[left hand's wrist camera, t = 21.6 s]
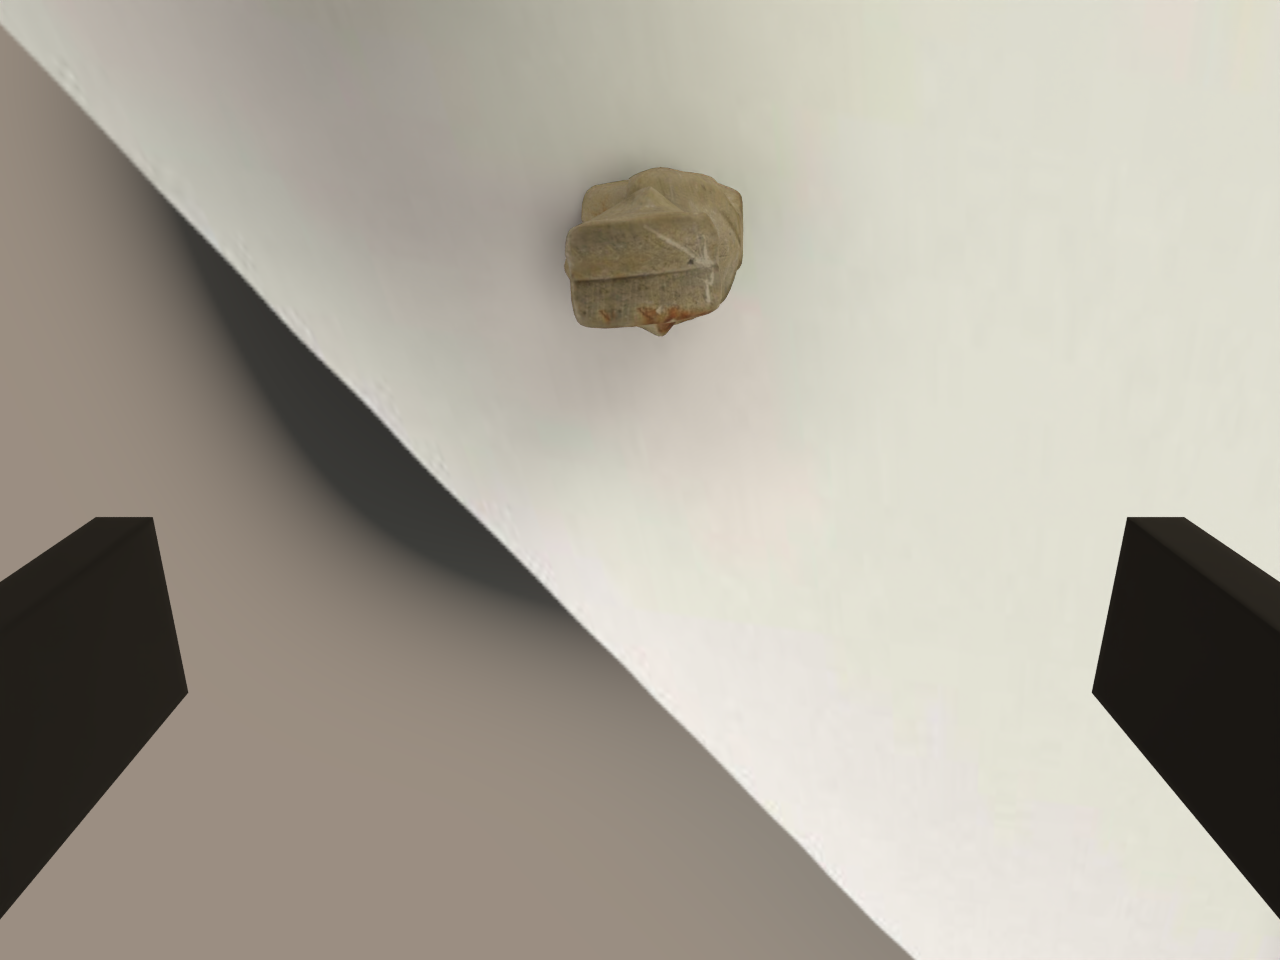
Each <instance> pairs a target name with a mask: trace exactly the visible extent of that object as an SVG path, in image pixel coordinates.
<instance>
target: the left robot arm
mask: <svg viewBox="0 0 1280 960" xmlns="http://www.w3.org/2000/svg"><path fill="white" fill-rule="evenodd" d="M187 693H188V689H187V684H186V680H185V674H184V669H183V664H182V660H181V655H180V650H179V645H178V640H177V635H176V630H175V625H174V620H173V615H172V610H171V605H170V600H169V595H168V591H167V585H166V580H165V575H164V570H163V566H162V561H161V556H160V551H159V546H158V541H157V536H156V531H155V526H154V521H153V517H95V518H94V519H93V520H91V521H90V522H88V523H87V524H85V525H84V526H82V527H81V528H79V529H78V530H76V531H75V532H73V533H72V534H70V535H69V536H67V537H66V538H64V539H63V540H62V541H60V542H59V543H57V544H56V545H54V546H53V547H51V548H50V549H48V550H47V551H45V552H44V553H42V554H41V555H39V556H38V557H37V558H35V559H34V560H32V561H31V562H29V563H28V564H26V565H25V566H23V567H22V568H20V569H19V570H17V571H16V572H14V573H13V574H11V575H10V576H9V577H7V578H6V579H4V580H3V581H1V582H0V919H1V918H2V916H3V915H4V914H5V913H6V912H7V910H8V909H9V908H10V907H11V906H12V904H13V903H14V902H15V901H16V899H17V898H18V897H19V896H20V895H21V893H22V892H23V891H24V890H25V889H26V888H27V886H28V885H29V884H30V883H31V882H32V880H33V879H34V878H35V877H36V875H37V874H38V873H39V872H40V871H41V869H42V868H43V867H44V866H45V865H46V863H47V862H48V861H49V860H50V859H51V857H52V856H53V855H54V854H55V853H56V851H57V850H58V849H59V848H60V847H61V845H62V844H63V843H64V842H65V841H66V839H67V838H68V837H69V836H70V834H71V833H72V832H73V831H74V830H75V828H76V827H77V826H78V825H79V824H80V822H81V821H82V820H83V819H84V818H85V816H86V815H87V814H88V813H89V812H90V810H91V809H92V808H93V807H94V805H95V804H96V803H97V802H98V801H99V799H100V798H101V797H102V796H103V795H104V793H105V792H106V791H107V790H108V789H109V787H110V786H111V785H112V784H113V783H114V781H115V780H116V779H117V778H118V777H119V775H120V774H121V773H122V772H123V771H124V769H125V768H126V767H127V766H128V765H129V763H130V762H131V761H132V760H133V759H134V757H135V756H136V755H137V754H138V753H139V751H140V750H141V749H142V748H143V746H144V745H145V744H146V743H147V742H148V740H149V739H150V738H151V737H152V735H153V734H154V733H155V732H156V731H157V730H158V728H159V727H160V726H161V725H162V724H163V722H164V721H165V720H166V719H167V718H168V716H169V715H170V714H171V713H172V712H173V710H174V709H175V708H176V707H177V705H178V704H179V703H180V702H181V701H182V699H183V698H184V697H185V696H186V695H187ZM1092 693H1093V695H1094V696H1095V697H1096V698H1097V699H1098V701H1099V702H1100V703H1101V704H1102V705H1103V707H1104V708H1105V709H1106V710H1107V712H1108V713H1109V714H1110V715H1111V716H1112V718H1113V719H1114V720H1115V721H1116V722H1117V724H1118V725H1119V726H1120V727H1121V728H1122V730H1123V731H1124V732H1125V733H1126V734H1127V736H1128V737H1129V738H1130V739H1131V740H1132V742H1133V743H1134V744H1135V745H1136V746H1137V748H1138V749H1139V750H1140V751H1141V753H1142V754H1143V755H1144V756H1145V757H1146V759H1147V760H1148V761H1149V762H1150V763H1151V765H1152V766H1153V767H1154V768H1155V769H1156V771H1157V772H1158V773H1159V774H1160V775H1161V777H1162V778H1163V779H1164V780H1165V781H1166V783H1167V784H1168V785H1169V786H1170V787H1171V789H1172V790H1173V791H1174V792H1175V793H1176V795H1177V796H1178V797H1179V798H1180V800H1181V801H1182V802H1183V803H1184V804H1185V806H1186V807H1187V808H1188V809H1189V810H1190V812H1191V813H1192V814H1193V815H1194V816H1195V818H1196V819H1197V820H1198V821H1199V822H1200V824H1201V825H1202V826H1203V827H1204V828H1205V830H1206V831H1207V832H1208V833H1209V834H1210V836H1211V837H1212V838H1213V839H1214V841H1215V842H1216V843H1217V844H1218V845H1219V847H1220V848H1221V849H1222V850H1223V851H1224V853H1225V854H1226V855H1227V856H1228V857H1229V859H1230V860H1231V861H1232V862H1233V863H1234V865H1235V866H1236V867H1237V868H1238V869H1239V871H1240V872H1241V873H1242V874H1243V875H1244V877H1245V878H1246V879H1247V880H1248V882H1249V883H1250V884H1251V885H1252V886H1253V888H1254V889H1255V890H1256V891H1257V892H1258V894H1259V895H1260V896H1261V897H1262V898H1263V900H1264V901H1265V902H1266V903H1267V904H1268V906H1269V907H1270V908H1271V909H1272V910H1273V912H1274V913H1275V914H1276V915H1277V916H1278V918H1279V919H1280V582H1279V581H1277V580H1276V579H1274V578H1273V577H1272V576H1270V575H1269V574H1267V573H1266V572H1264V571H1263V570H1261V569H1260V568H1258V567H1257V566H1255V565H1254V564H1252V563H1251V562H1249V561H1248V560H1246V559H1245V558H1244V557H1242V556H1241V555H1239V554H1238V553H1236V552H1235V551H1233V550H1232V549H1230V548H1229V547H1227V546H1226V545H1224V544H1223V543H1221V542H1220V541H1218V540H1217V539H1216V538H1214V537H1213V536H1211V535H1210V534H1208V533H1207V532H1205V531H1204V530H1202V529H1201V528H1199V527H1198V526H1196V525H1195V524H1193V523H1192V522H1190V521H1189V520H1188V519H1186V518H1185V517H1127V521H1126V526H1125V531H1124V536H1123V541H1122V546H1121V551H1120V556H1119V561H1118V566H1117V570H1116V575H1115V580H1114V585H1113V590H1112V595H1111V600H1110V605H1109V610H1108V615H1107V620H1106V625H1105V630H1104V635H1103V640H1102V645H1101V650H1100V655H1099V659H1098V664H1097V669H1096V674H1095V679H1094V684H1093V689H1092Z"/></svg>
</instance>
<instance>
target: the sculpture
mask: <svg viewBox="0 0 1280 960" xmlns="http://www.w3.org/2000/svg"><path fill="white" fill-rule="evenodd" d="M581 217H582V221H583V223H582V224H580V225H577V226H575V227H573V228H572V229H571V230H570V231H569V232H568V235H567V238H566V245H565V256H566V261H565V264H564V268H565V272H566V274H567V276H568V277H569V279H570V283H571V300H572V305H573V310H574V315H575V317H576V319H577V321H578V322H579V323H580V324H581V325H583V326H586V327H591V328H619V327H635V326H637V327H640V328H643V329H645V330H647V331H649V332H651V333H653V334H655V335H657V336H664V335H665V334H666V333H667V332H668V331H669V330H670V328H671V327H672V326H673V325H676V324H679V323H682V322H684V321H687V320H691V319H694V318H696V317H699V316H702V315H706V314H709V313H711V312H713V311H714V310H716V309H717V308H718V307H719V305H720V304H721V303H722V302H723V301H724V300H725V298H726V297H727V295H728V293H729V291H730V289H731V286H732V283H733V281H734V278H735V274H736V271H737V270H738V269H739V268H740V266H741V264H742V257H743V206H742V197H741V195H740V193H739V192H738V191H736V190H734V189H732V188H730V187H727V186H724V185H721V184H719V183H717V182H716V181H715V180H714V179H713V178H712V177H709V176H706V175H703V174H698V173H691V172H683V171H679V170H674V169H670V168H662V167H659V168H652V169H649V170H646V171H643V172H640V173H638V174H636V175H634V176H632V177H631V178H629V180H623V181H618V182H612V183H606V184H601V185H595V186H593V187H591V188H590V189H589V190H588V191H587V192H586V194H585V196H584V199H583V203H582V216H581Z"/></svg>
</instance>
